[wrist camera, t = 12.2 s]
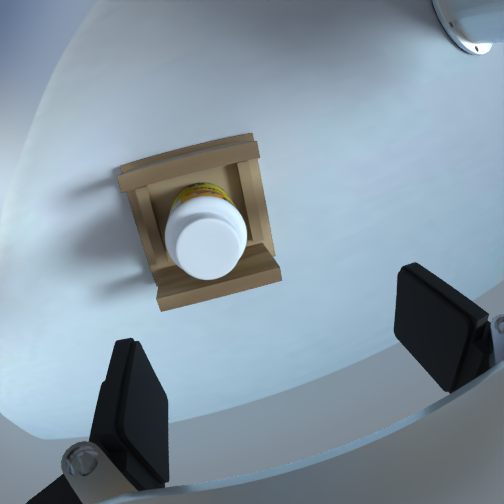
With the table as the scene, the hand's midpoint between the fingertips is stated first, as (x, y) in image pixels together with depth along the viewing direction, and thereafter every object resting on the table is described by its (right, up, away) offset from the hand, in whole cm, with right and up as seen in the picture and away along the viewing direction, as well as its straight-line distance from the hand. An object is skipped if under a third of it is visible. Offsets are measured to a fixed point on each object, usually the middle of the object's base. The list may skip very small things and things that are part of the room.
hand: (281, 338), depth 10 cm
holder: (-6, +7, +19) cm, 21 cm away
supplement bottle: (-5, +7, +18) cm, 20 cm away
